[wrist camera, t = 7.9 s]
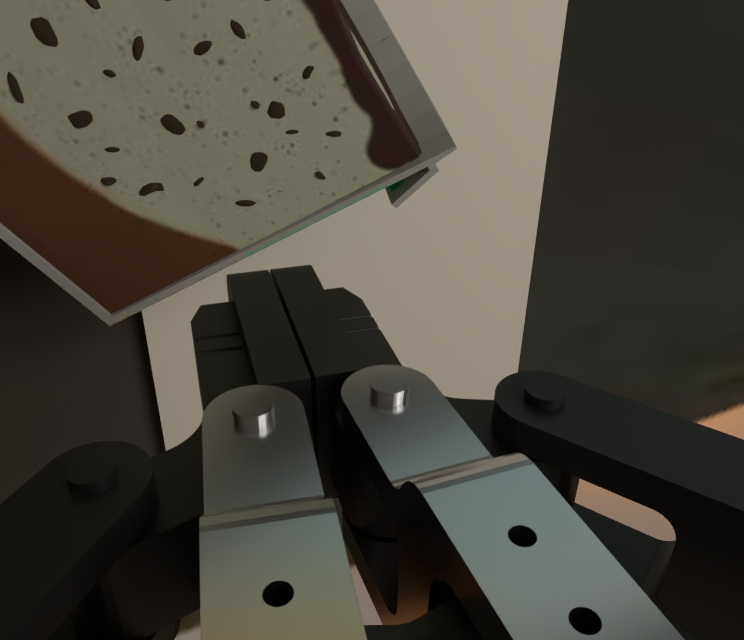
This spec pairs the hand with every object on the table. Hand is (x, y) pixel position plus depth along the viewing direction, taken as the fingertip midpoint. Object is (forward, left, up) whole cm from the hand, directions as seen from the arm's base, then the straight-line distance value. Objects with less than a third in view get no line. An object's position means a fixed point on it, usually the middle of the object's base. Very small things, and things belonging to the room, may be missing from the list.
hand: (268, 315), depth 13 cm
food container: (-6, +1, -9) cm, 11 cm away
